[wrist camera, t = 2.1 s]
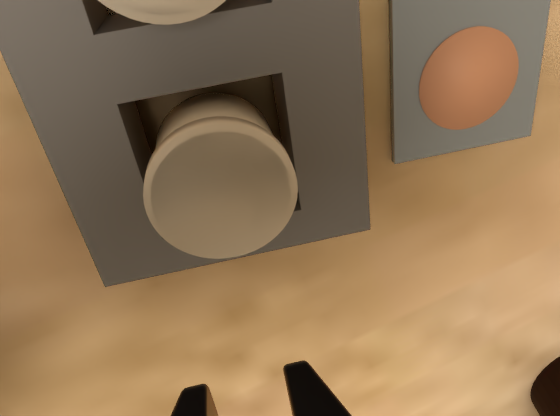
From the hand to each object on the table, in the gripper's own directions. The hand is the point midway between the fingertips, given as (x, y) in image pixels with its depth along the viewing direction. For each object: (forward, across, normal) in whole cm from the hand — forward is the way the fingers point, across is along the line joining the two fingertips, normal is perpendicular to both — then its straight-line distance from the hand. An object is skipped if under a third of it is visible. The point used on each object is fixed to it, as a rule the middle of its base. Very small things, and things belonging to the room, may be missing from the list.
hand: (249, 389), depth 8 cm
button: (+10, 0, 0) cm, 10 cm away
